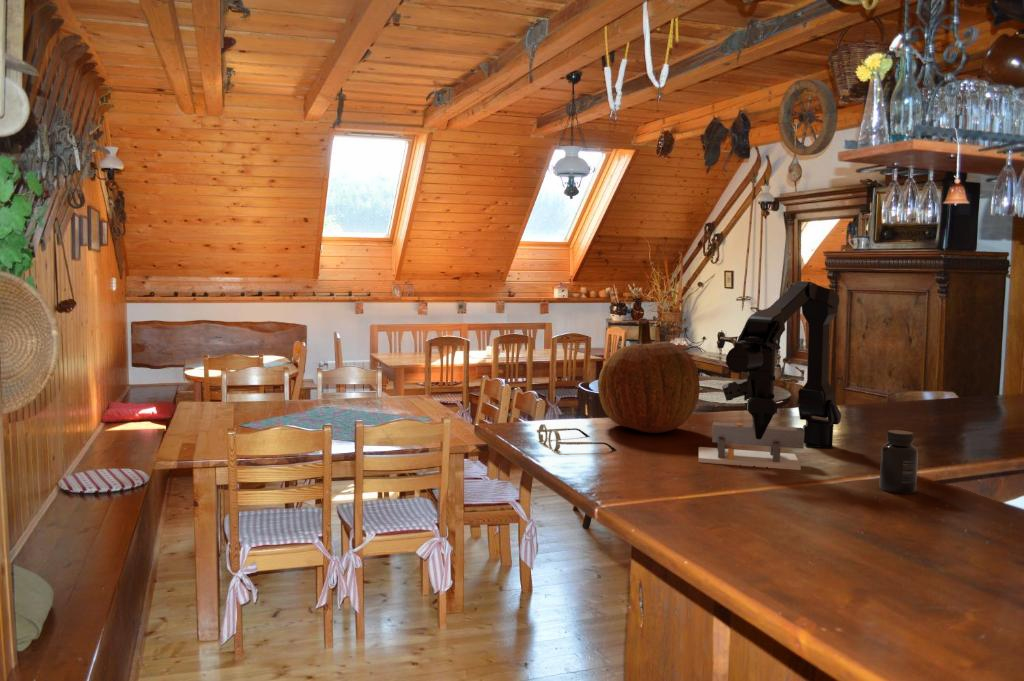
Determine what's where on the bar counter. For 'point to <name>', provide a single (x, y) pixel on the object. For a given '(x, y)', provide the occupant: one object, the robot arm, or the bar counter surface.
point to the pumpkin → (649, 384)
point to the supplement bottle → (899, 463)
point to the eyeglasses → (560, 438)
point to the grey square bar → (747, 436)
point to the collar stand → (749, 457)
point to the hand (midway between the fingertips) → (757, 437)
